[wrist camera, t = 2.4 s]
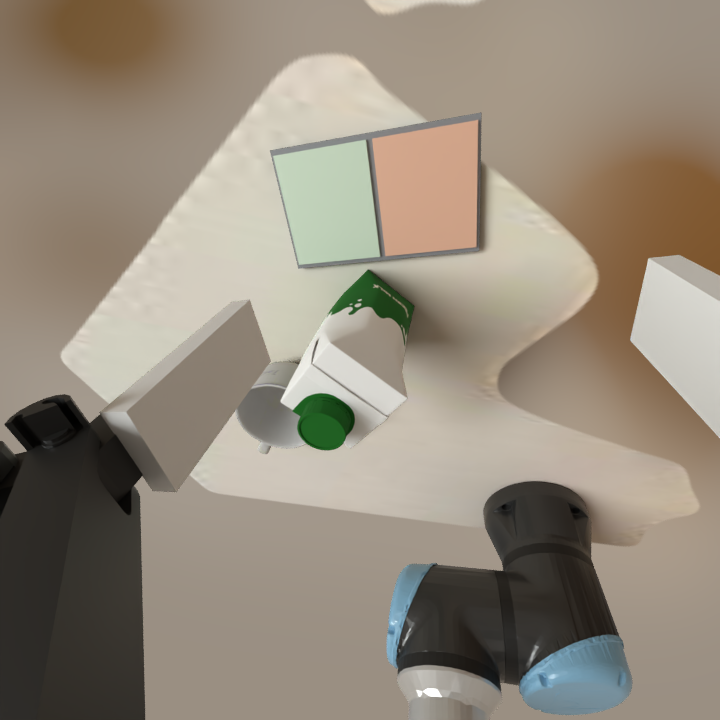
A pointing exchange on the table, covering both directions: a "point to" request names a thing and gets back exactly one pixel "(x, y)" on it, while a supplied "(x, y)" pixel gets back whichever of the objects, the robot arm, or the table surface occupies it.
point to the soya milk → (352, 367)
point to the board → (384, 193)
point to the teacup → (270, 409)
